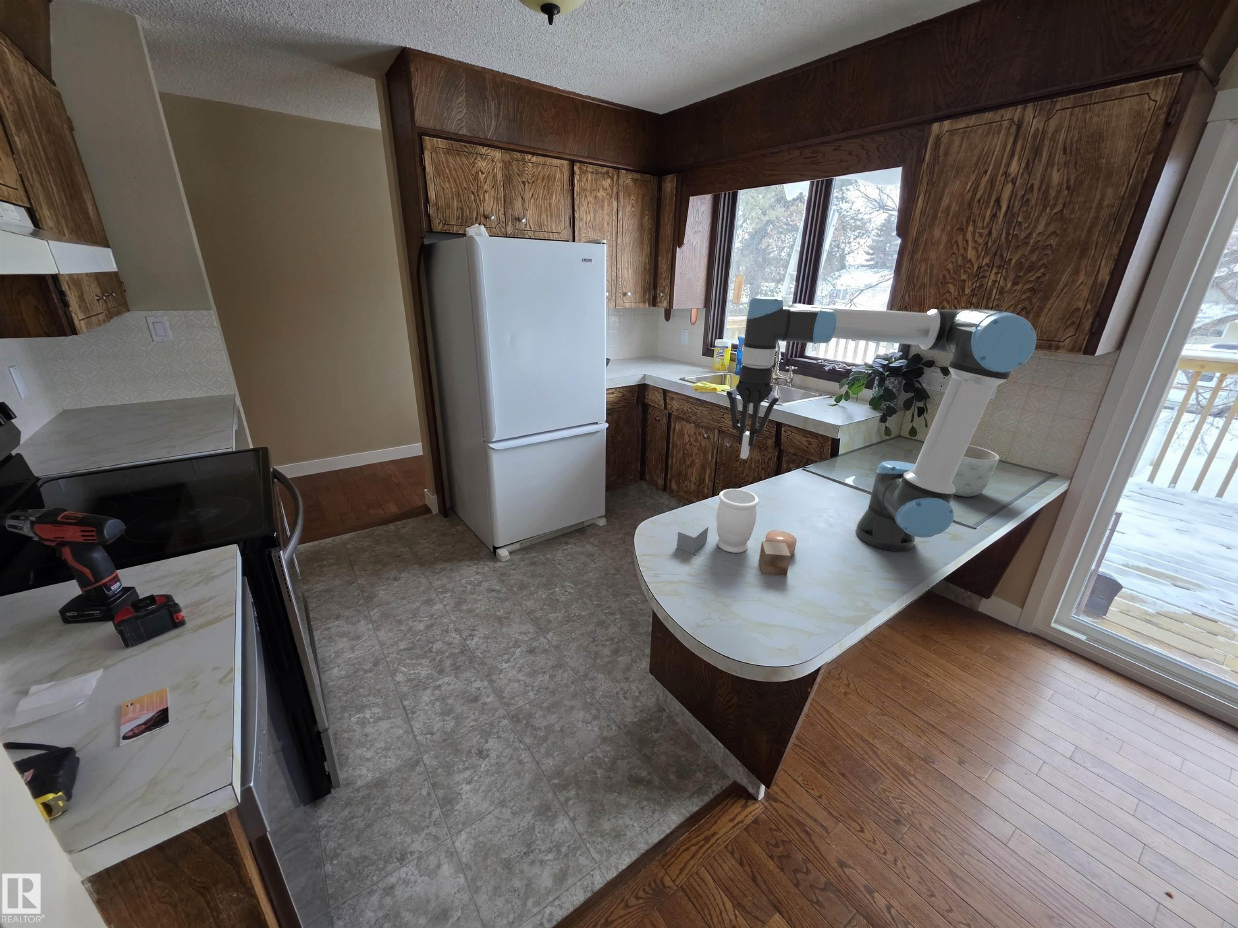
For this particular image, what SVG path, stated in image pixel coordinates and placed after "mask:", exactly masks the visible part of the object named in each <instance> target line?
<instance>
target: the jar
mask: <svg viewBox="0 0 1238 928" xmlns="http://www.w3.org/2000/svg"><path fill="white" fill-rule="evenodd" d="M718 499H719V503H718V506H717V511H716V533H717V536H718V539H717V541H716V544H717V546H718V547H719V548H720V549H721V550H722V551H725V552H728V553H733V554H737V553H743V552H745V551H747V549H748V547H749V546H748V542H749V541H750V539H751V537H752V535H753V531H754V528H755V526H756V525H755V524H756V521H757V506H758V504H759V497H758V496H757V495H756V494H755V493H753V492H751V491H749V490H746V489H745V490H744V489H742V488H729V489H727V488H726V489H723V490H722V491H720V492H719V495H718Z"/></svg>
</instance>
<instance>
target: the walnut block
mask: <svg viewBox="0 0 1238 928" xmlns="http://www.w3.org/2000/svg"><path fill="white" fill-rule="evenodd" d="M759 550H760V552H759V558H758V563H759V566H760V567H759V568H760V570H761V573H762V575H770V576H772V575H773V576H780V577H781V576H783V577H787V576H788V571H789V568H790V567H789V566H790V561H791V558H792V557H791V555H790V553H789V550H788V548H787V545H786V543H777V542H765V540H764V541H762V540H761V546H760V549H759Z"/></svg>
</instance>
